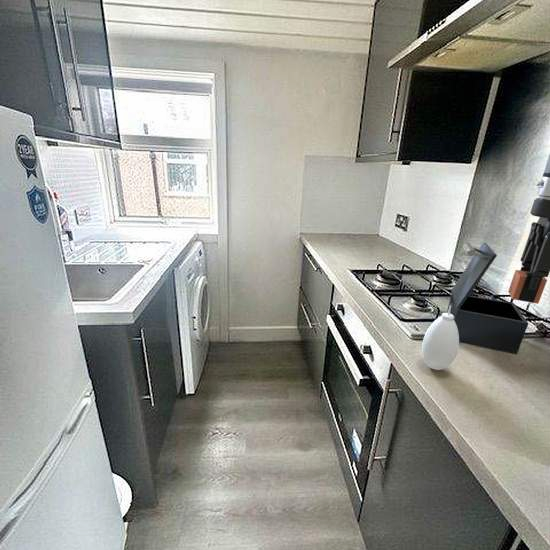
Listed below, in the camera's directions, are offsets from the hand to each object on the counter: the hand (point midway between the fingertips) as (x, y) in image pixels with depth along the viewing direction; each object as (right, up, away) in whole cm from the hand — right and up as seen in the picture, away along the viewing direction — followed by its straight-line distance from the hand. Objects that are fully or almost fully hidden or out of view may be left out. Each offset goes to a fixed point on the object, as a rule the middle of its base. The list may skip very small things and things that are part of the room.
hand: (522, 296), depth 73 cm
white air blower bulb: (-19, -19, +5) cm, 27 cm away
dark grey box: (+2, -13, +20) cm, 24 cm away
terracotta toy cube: (0, 0, 0) cm, 0 cm away
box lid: (-2, +5, +15) cm, 16 cm away
